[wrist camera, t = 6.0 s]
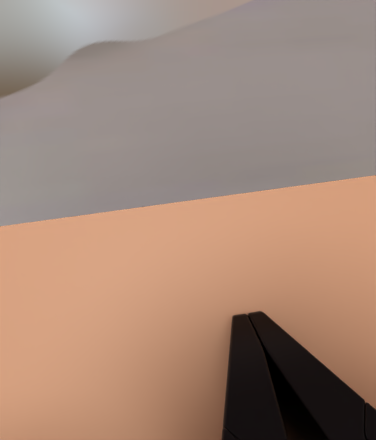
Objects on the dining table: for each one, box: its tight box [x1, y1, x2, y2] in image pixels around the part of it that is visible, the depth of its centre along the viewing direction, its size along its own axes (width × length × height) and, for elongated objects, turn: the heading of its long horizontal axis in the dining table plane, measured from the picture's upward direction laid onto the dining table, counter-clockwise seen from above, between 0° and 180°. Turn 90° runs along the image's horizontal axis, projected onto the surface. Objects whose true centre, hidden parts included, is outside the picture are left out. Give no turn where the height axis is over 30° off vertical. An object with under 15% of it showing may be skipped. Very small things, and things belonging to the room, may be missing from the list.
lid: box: [0, 175, 376, 440], centre depth 10 cm, size 11×20×1 cm, turn 99°
